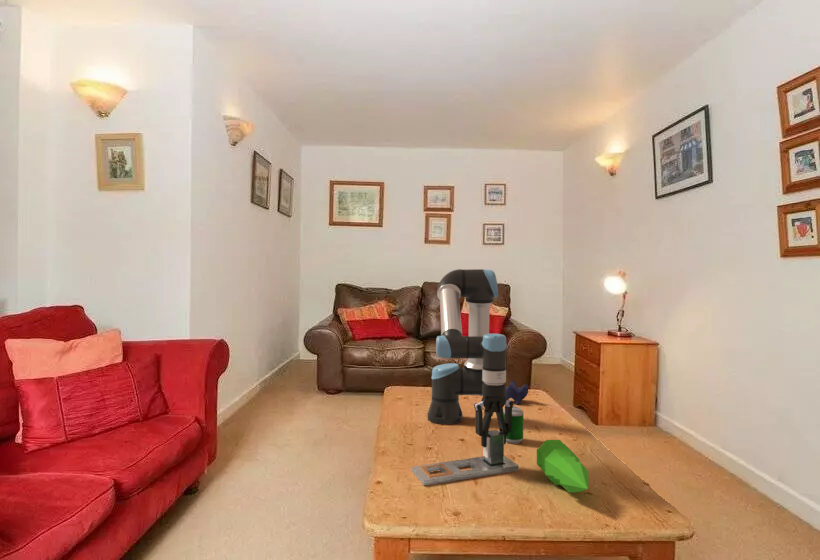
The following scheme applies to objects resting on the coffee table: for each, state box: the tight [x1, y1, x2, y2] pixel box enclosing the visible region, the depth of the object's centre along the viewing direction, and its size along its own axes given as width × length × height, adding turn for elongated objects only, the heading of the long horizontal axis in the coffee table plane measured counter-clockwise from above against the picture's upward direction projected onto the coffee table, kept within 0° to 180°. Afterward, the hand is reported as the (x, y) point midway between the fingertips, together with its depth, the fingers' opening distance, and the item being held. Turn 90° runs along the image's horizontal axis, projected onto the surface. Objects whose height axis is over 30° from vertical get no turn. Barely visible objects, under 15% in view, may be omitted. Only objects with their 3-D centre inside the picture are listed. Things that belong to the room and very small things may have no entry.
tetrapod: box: [505, 380, 530, 406], centre depth 217 cm, size 11×12×11 cm
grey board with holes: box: [411, 455, 520, 486], centre depth 138 cm, size 10×32×2 cm, turn 110°
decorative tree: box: [536, 439, 590, 493], centre depth 128 cm, size 11×12×30 cm
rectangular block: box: [483, 429, 505, 466], centre depth 141 cm, size 4×4×10 cm
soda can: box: [503, 406, 524, 445], centre depth 164 cm, size 8×8×12 cm
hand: (493, 455), depth 141 cm, fingers closed on rectangular block, 4 cm apart
